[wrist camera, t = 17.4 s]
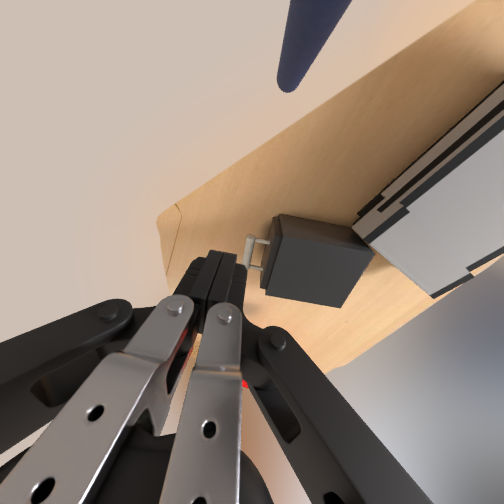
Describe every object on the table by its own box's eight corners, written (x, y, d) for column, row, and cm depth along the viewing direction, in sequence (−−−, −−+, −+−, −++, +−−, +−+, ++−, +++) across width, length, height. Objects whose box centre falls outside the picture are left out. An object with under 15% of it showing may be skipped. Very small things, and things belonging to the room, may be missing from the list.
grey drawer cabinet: (265, 264, 44) (265, 295, 35) (279, 213, 37) (283, 235, 28) (326, 276, 44) (340, 308, 36) (351, 227, 37) (375, 253, 29)
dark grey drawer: (242, 260, 42) (237, 284, 35) (251, 212, 36) (247, 229, 29) (318, 274, 43) (328, 300, 36) (339, 230, 37) (356, 250, 30)
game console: (614, 138, 28) (732, 139, 21) (405, 272, 42) (433, 299, 35) (564, 17, 22) (702, -38, 15) (344, 219, 37) (362, 239, 30)
